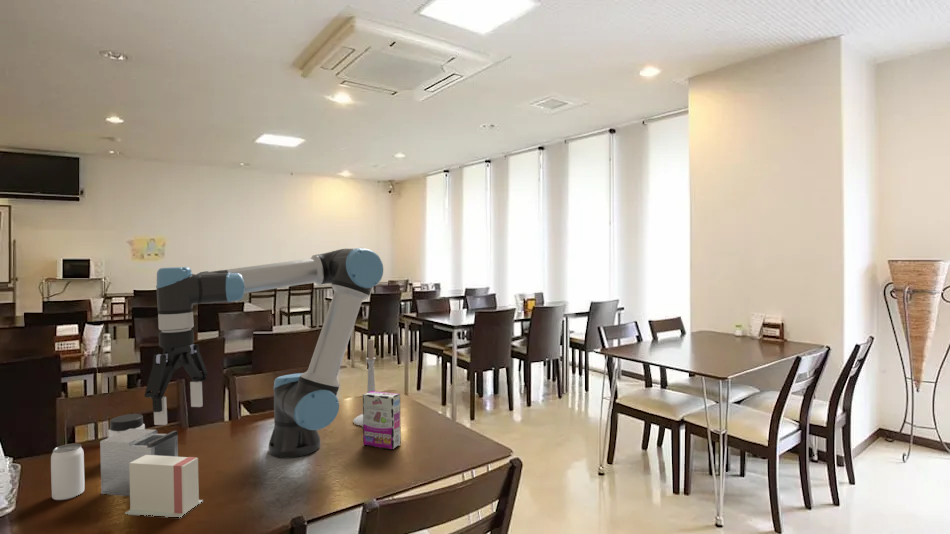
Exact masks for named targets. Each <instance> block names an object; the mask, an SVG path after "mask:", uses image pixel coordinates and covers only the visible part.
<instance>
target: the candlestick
mask: <svg viewBox="0 0 950 534" xmlns="http://www.w3.org/2000/svg"><path fill="white" fill-rule="evenodd" d="M374 341H375V340H374V339H372V338H370V339H367V357H366V358H365V359H366V361H367V364H368V369H367V390H366V393H368V392H370V391H375V392H376V382H375V380H376V379H375V367H374V364H375V363H376V362H375V361H376V359H377V357H375V351H374V349H375V346H374V345H375V344H374V343H375V342H374ZM353 422H354V423H355V424H357V425H361V426H363V413H361V414H359V415H358V416H356V417H354V419H353V421H352V423H353Z"/></svg>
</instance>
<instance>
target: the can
mask: <svg viewBox="0 0 950 534" xmlns="http://www.w3.org/2000/svg"><path fill="white" fill-rule="evenodd" d="M50 477H51V478H50V480H51V481H50V482H51V484H50V485H51V498H52V499H53V500H54V501H66V500H67V501H68V500H70V499H75V498H76V496H77V497H79V496H80V494H81V495H82V494H83V493H84V492H85V454H84V448H82V443H70V444H69V443H68V444H64V445H63V444H62V445H60V446H57V447H55V448H54V449H52V453H51V456H50ZM78 495H79V496H78Z"/></svg>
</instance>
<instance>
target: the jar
mask: <svg viewBox="0 0 950 534" xmlns="http://www.w3.org/2000/svg"><path fill="white" fill-rule="evenodd" d="M128 429H146V425H145V423H144V416H143V415H142V414H140V413H130V414H129V413H128V414H122V415H118V416H114V417H112V418H111V419H110V420H109V429H108V430H107V436H108V437H107V438H109V437H111V436H114V435H116V434H118V433H121V432H123V431H125V430H128Z"/></svg>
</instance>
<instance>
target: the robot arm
mask: <svg viewBox="0 0 950 534" xmlns="http://www.w3.org/2000/svg"><path fill="white" fill-rule="evenodd" d="M383 275H384V264H383V261H382V259H381V257H380V256H379V255H378V253H376V252H375V251H374V250H371V249H368V248H364V247H356V248H341V249H337V250H331V251H328V252H325V253H320V254H319V253H318V254H314V255H312V256H311V257H310V258H306V259H305V258H303V259H297V260H290V261H289V260H288V261H282V262H274V263H268V264H267V263H266V264H258V265H251V266H244V267H236V268H235V267H234V268H229V269H220V270H214V271H206V270H205V271H200V272H198V273H196V274H195V273H194V274H193V272H192V269H191V267H188V266H179V267H178V266H176V267H160V268H159V269H157V272H156V300H157V305H156V306H157V314H158V315H157V321H158V330H159V331H160V332H158V345H159V348H161V349H163V353H162V354H160V353H158V354H154V355H153V358H152V365H151V370H150V373H149V378H148V381H147V384H146V387H145V392H144V397H145V398H148V399H151V400H152V412H153V422H154V423H153V424H154V425H155V426H167V425H168V409H167V408H168V407H167V396H165V393H166V391H167V389H168V387H169V384H170V381H171V379H172V377H173V374H174V373H175V372H177V370H178V369H181V367H182V368H183V369H184V370H185V373H187V375H188V376H189V378H191V380H192V381H190V382H189V386H190V387H189V388H190V407H191V408H201V407H203V405H204V403H203V382H205V381H206V380H207V377H208V373H209V372H208V371H207V367H206V365H205V361H204V360H203V357H202V355H201V352H200V346H199V344H194V343H195V331H194V330H193V329H192V328H194V327H195V325H194V323H195V322H194V305H202V304H215V303H216V304H219V303H231V302H238V301H241V300H242V299H244V296H245V294H248V293H249V294H250V293H255V292H262V291H269V290H275V289H282V288H288V287H295V286H299V285H306V284H307V285H308V284H313V283H314V284H316V285H317V286H321V285H327V284H328V285H331V288H332V290H333V295H332V298H331V300H330V301H331V302H330V304H329V307H328V310H327V313H326V316H325V319H324V322H323V325H322V328H321V330H320V333H319V336H318V340H317V342H316V346H315V348H314V351H313V354H312V356H311V360H310V363H309V366H308V368H307V370H306V371H305V372H298V373H290V374H285V375H281V376H278V377H276V378H275V379H274V381H273V388H272V389H273V411H274V412H273V414H274V427H273V431H272V433H271V436H270V439H269V443H268V454H269V455H271V456H272V457H275V458H281V459H282V458H283V459H284V458H285V459H289V458H297V457H303V456H307V455H310V454H312V452H313V453H315V452H317V451H318V450H319V449H320V448H321V437H320V434H319V431H318V430H322V429H325V428H326V427H328V426H330V424H331V423H333V422H334V420H335V419H336V417H337V416H338V413H339V409H340V401H339V399H338V397H337V396H338V391H339V389H340V383H339V381H338V375H339V372H340V370H341V365H342V363H343V360H344V357H345V353H346V351H347V348H348V345H349V341H350V339H351V336H352V333H353V329H354V328H355V324H356V321H357V317H358V314H359V312H360V310H361V309H360V308H361V305H362V302H363V301H364V300H367V299H368V298H369V297H370V294H371V292H372V288H373V287H375V286H377V285H378V284H379V283H380V282H381V280H382V278H383ZM319 447H320V448H319ZM318 448H319V449H318ZM317 449H318V450H317ZM314 451H315V452H314ZM309 453H310V454H309Z"/></svg>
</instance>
